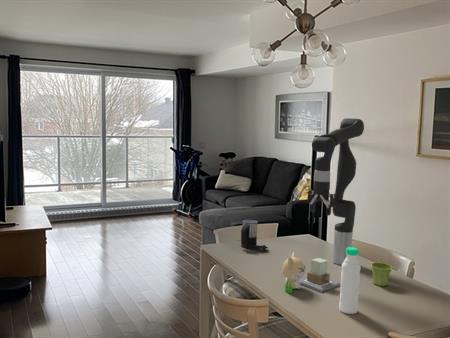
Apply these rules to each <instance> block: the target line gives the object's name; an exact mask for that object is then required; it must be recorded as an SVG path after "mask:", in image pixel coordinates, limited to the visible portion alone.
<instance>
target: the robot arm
mask: <svg viewBox="0 0 450 338" xmlns="http://www.w3.org/2000/svg"><path fill="white" fill-rule="evenodd" d="M364 131H365V123H364V122H363V120H362V119H360V118H348V117H347V118H346V117H345V118H343V119H342V120H341V122H340V125H339V128H338V129H337V128H336V129H334V130H332V131H330V132H328V133H326V134H321V135H318V136H316V137H314V138H313V140H312V141H311V148H312V150H313V151H315V152H317V153H324V154H323V155H322V156H319V157H316V158H315V161H314V173H313V189H310V190H308V191H307V200H306V201H307V203H308V204H310V212H311V213H315V212H316V203H317V202H321V203H324V204H325V206H326V209H325V210H326V211H325V212H326V213H325V215H326V216H328V217H329V216H330V215H331V214H333V216H335V217H339V218H344V221H342V222H338V223H335V224H334V231H333V232H334V233H333V234H334V235H333V247H332V248H333V249H332V263H334V264H335V265H340V266H342V264H343V262H344V260H345V258H346V257H347V255H346V248H348V247H353V233H354V231H353V230H354V225H355V216H356V209H357V207H356V203H355V202H354V201H352V200H346V199H344V195H345V191H346V190H347V188H348V186H349V185H350V183H352V181H353V180H354V178H355V176H356V170H357V160H356V158H355V156H354V154H353V152H352V150H351V148H350V144H349V143H350V142H349V140H352V139H353V138H358V137H360V136H361V135H363V134H364ZM338 145H339V151H338V159H337V160H338V161H337V170H336V182H335V189H334V193H330V189H331V163H332V158H333V155H334V151H335V149H336V146H338Z"/></svg>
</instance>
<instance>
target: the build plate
mask: <svg viewBox="0 0 450 338" xmlns="http://www.w3.org/2000/svg"><path fill="white" fill-rule="evenodd" d="M299 282H300V285H301V286H303V287H305V286H306V287H305V288H308V289H311V290H313V289H314V291H316V290H317V292H319V293H323V291H324V292H326V290H327V291H328V290H331V289H335V288H337V287H341V282H339V281H336V280H333V279H330V278H329V283H326V284H323V285H320V286H319V285H317V284H314V283H311V282H308V281H307V276H305V277H302V278H300V279H299Z"/></svg>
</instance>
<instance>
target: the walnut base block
mask: <svg viewBox="0 0 450 338" xmlns="http://www.w3.org/2000/svg"><path fill="white" fill-rule="evenodd" d="M306 277H307V281H308V282H311V283H314V284H317V285H319V286H320V285H323V284H326V283H329V279H330V273H329V272H327V274H324V275H321V276H319V275H316V274H313V273H311V271H308V272H307V276H306Z"/></svg>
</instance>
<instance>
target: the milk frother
mask: <svg viewBox="0 0 450 338" xmlns="http://www.w3.org/2000/svg"><path fill="white" fill-rule="evenodd" d="M258 223H259V222H258V220H254V219H244V220H242V227H241V230H240V244H241V245H240V246H241V247H243V248H246V249H255V248H257V249H262V250H263V251H265V250H266V249H268V246H266V244H265V245H264V244H262V245H260V244H259V245H258V244H257V238H258V236H257V235H258Z"/></svg>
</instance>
